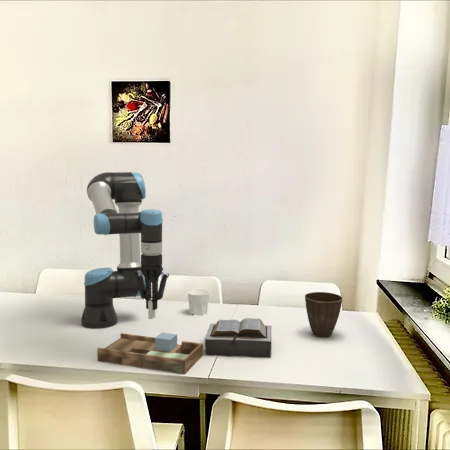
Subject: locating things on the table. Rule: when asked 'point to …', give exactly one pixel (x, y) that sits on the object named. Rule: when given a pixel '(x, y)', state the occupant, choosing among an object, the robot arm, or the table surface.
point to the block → (166, 342)
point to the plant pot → (323, 312)
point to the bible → (239, 338)
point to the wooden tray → (150, 354)
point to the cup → (198, 301)
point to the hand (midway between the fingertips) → (151, 317)
